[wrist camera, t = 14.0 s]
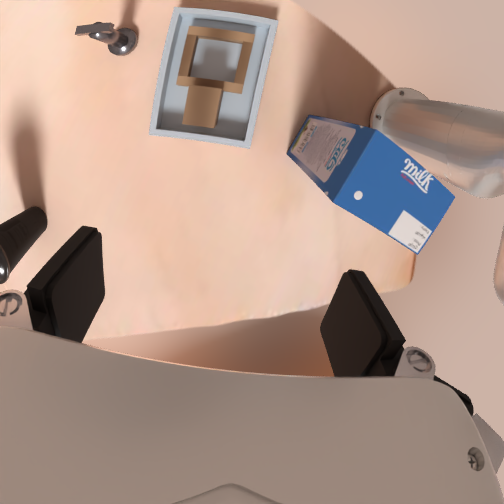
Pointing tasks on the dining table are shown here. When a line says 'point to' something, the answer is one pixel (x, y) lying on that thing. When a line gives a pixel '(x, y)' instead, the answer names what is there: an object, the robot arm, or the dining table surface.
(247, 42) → the ring
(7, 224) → the drinking cup
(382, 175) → the milk carton
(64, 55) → the dining table surface
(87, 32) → the gray bar-topped pedestal
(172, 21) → the tray
